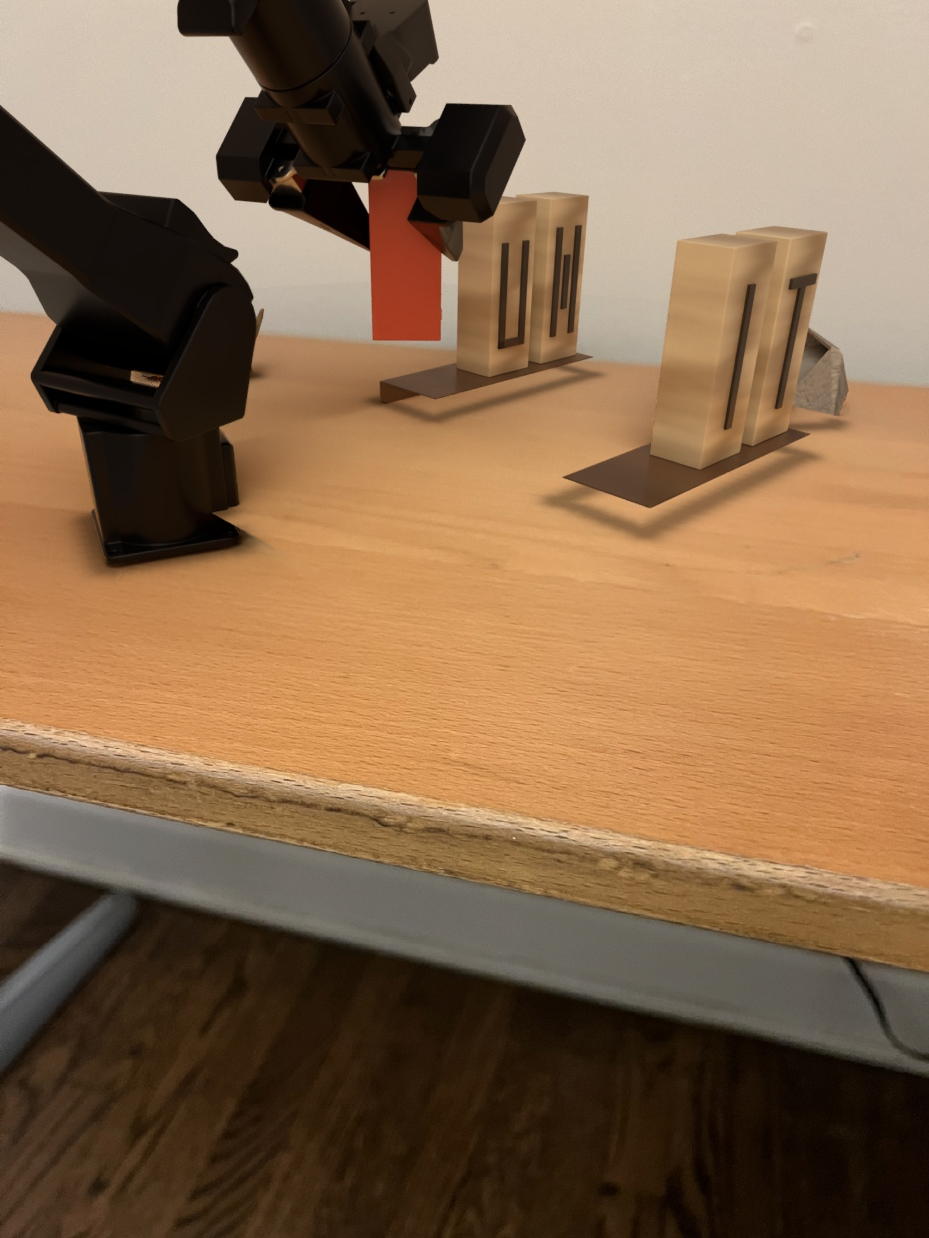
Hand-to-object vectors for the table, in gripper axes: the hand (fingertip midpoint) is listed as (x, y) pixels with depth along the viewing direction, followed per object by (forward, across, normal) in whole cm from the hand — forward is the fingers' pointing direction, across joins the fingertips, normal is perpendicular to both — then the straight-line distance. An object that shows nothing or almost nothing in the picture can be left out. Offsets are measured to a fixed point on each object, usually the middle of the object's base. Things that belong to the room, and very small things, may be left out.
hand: (416, 251), depth 61 cm
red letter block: (+3, 0, +5) cm, 5 cm away
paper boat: (+19, -23, -3) cm, 30 cm away
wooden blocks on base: (+14, -2, +2) cm, 14 cm away
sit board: (+6, -21, +9) cm, 24 cm away
